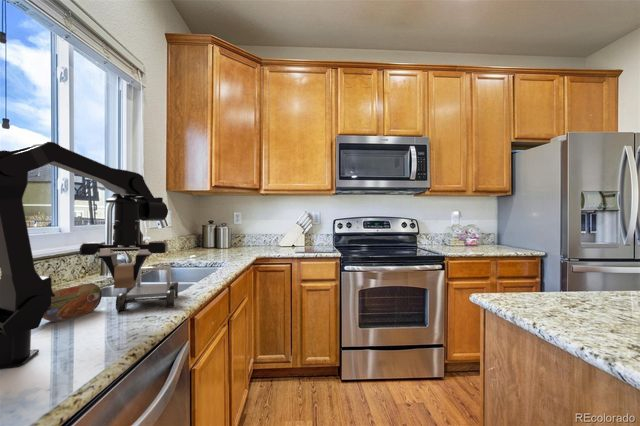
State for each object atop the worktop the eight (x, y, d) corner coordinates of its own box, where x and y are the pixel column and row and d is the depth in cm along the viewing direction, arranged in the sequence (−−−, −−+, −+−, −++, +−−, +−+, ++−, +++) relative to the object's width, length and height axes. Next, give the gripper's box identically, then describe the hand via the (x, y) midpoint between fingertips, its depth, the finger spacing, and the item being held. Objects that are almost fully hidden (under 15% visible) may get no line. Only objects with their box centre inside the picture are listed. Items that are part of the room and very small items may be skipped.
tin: (43, 326, 76) (45, 292, 76) (35, 324, 77) (36, 291, 77) (102, 309, 91) (103, 281, 91) (94, 308, 92) (95, 280, 92)
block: (132, 287, 77) (132, 265, 78) (114, 288, 76) (114, 266, 76) (136, 283, 82) (137, 263, 82) (119, 284, 81) (119, 263, 81)
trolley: (173, 308, 92) (174, 273, 92) (115, 313, 87) (116, 275, 87) (178, 294, 108) (179, 265, 108) (129, 298, 103) (130, 266, 103)
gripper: (170, 221, 90) (169, 273, 90) (95, 220, 84) (93, 277, 83) (165, 221, 80) (164, 281, 79) (79, 220, 73) (77, 285, 73)
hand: (125, 281), depth 79 cm, fingers closed on block, 4 cm apart
